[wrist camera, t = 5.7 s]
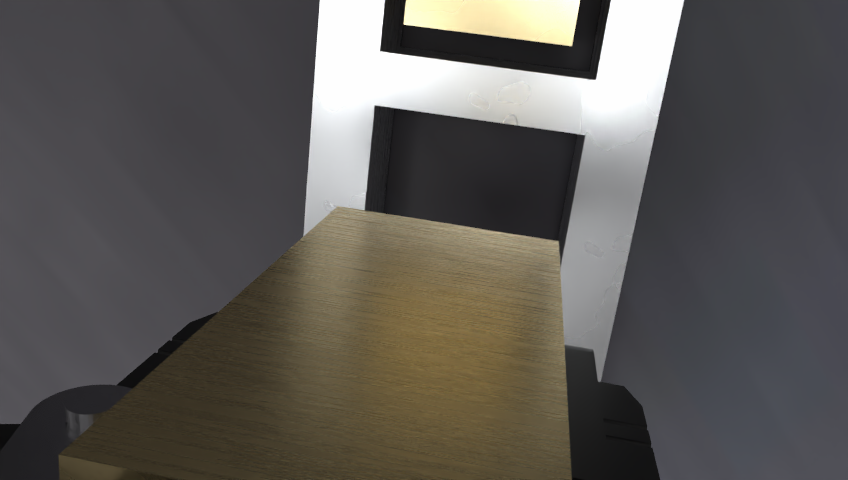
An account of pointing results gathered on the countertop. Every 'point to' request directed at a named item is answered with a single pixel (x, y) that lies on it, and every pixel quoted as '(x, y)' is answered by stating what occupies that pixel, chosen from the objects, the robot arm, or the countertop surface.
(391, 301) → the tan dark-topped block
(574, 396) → the robot arm
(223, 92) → the countertop surface
